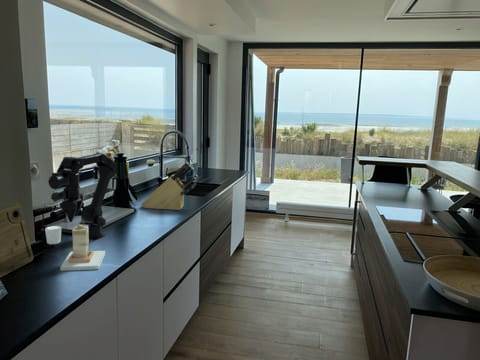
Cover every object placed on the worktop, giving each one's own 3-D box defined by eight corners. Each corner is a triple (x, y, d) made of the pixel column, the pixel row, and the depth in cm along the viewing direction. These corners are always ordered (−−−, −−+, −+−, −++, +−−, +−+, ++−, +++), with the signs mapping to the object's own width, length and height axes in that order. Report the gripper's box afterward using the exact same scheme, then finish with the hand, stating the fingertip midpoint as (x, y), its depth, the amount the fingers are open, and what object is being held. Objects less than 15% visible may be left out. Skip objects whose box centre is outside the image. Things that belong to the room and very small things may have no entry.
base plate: (70, 254, 157) (70, 248, 157) (105, 253, 160) (104, 247, 160) (60, 270, 142) (60, 263, 141) (98, 269, 145) (98, 262, 144)
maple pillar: (76, 256, 152) (75, 224, 150) (89, 255, 154) (88, 224, 151) (73, 261, 148) (72, 228, 145) (86, 260, 149) (85, 227, 146)
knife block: (194, 211, 235) (196, 164, 229) (140, 208, 236) (140, 161, 230) (197, 207, 246) (198, 161, 240) (145, 204, 247) (145, 159, 241)
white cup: (46, 240, 173) (46, 226, 172) (62, 239, 176) (62, 225, 174) (44, 245, 167) (43, 230, 166) (61, 244, 169) (60, 229, 168)
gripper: (58, 181, 170) (60, 213, 173) (45, 189, 152) (47, 225, 155) (84, 181, 172) (85, 213, 175) (74, 189, 154) (75, 224, 157)
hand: (73, 218), depth 165 cm, fingers open, 9 cm apart
